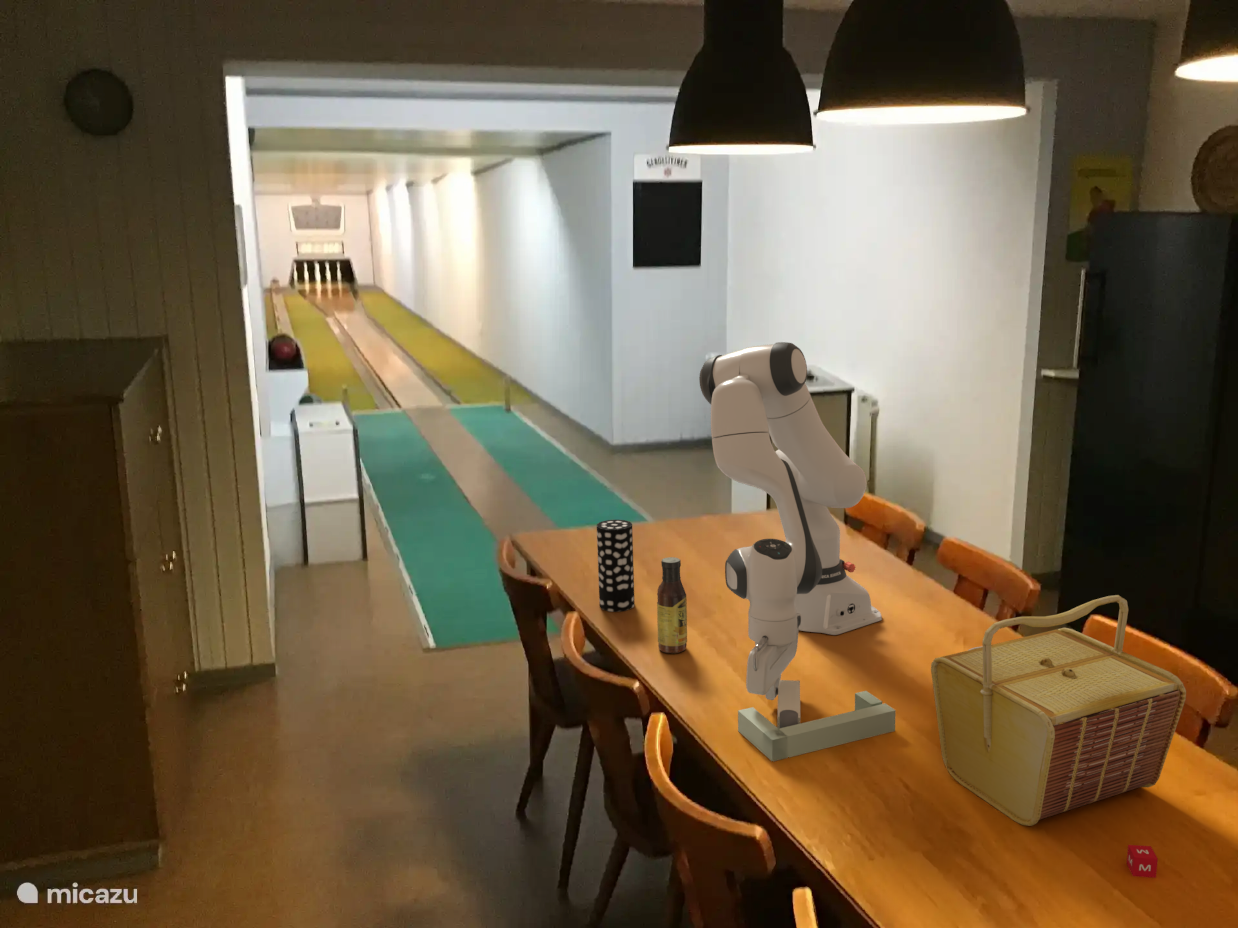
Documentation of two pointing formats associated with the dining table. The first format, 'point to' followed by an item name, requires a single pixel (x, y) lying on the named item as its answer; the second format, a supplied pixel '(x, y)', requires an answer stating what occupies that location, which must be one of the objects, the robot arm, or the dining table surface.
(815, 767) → the dining table surface
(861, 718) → the frame
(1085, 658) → the picnic basket
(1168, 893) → the dining table surface
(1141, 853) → the dice
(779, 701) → the bar
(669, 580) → the sauce bottle
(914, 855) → the dining table surface
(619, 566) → the white-spotted black cylinder
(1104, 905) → the dining table surface
